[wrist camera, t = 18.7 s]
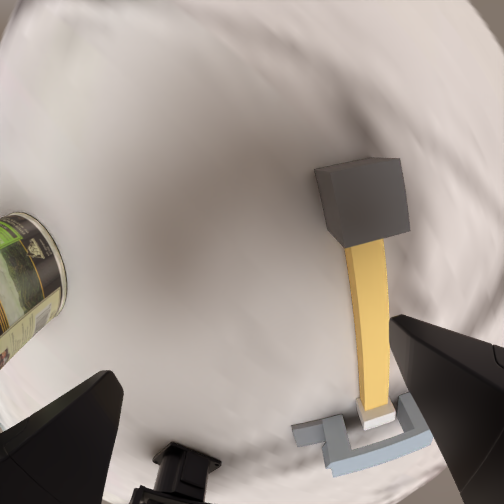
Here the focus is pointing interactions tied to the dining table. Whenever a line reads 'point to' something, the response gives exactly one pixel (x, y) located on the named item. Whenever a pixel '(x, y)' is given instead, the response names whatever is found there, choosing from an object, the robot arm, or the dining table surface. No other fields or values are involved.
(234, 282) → the dining table surface
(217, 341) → the dining table surface
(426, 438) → the blue-grey bracket
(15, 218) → the coffee can
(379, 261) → the yellow handled hammer
